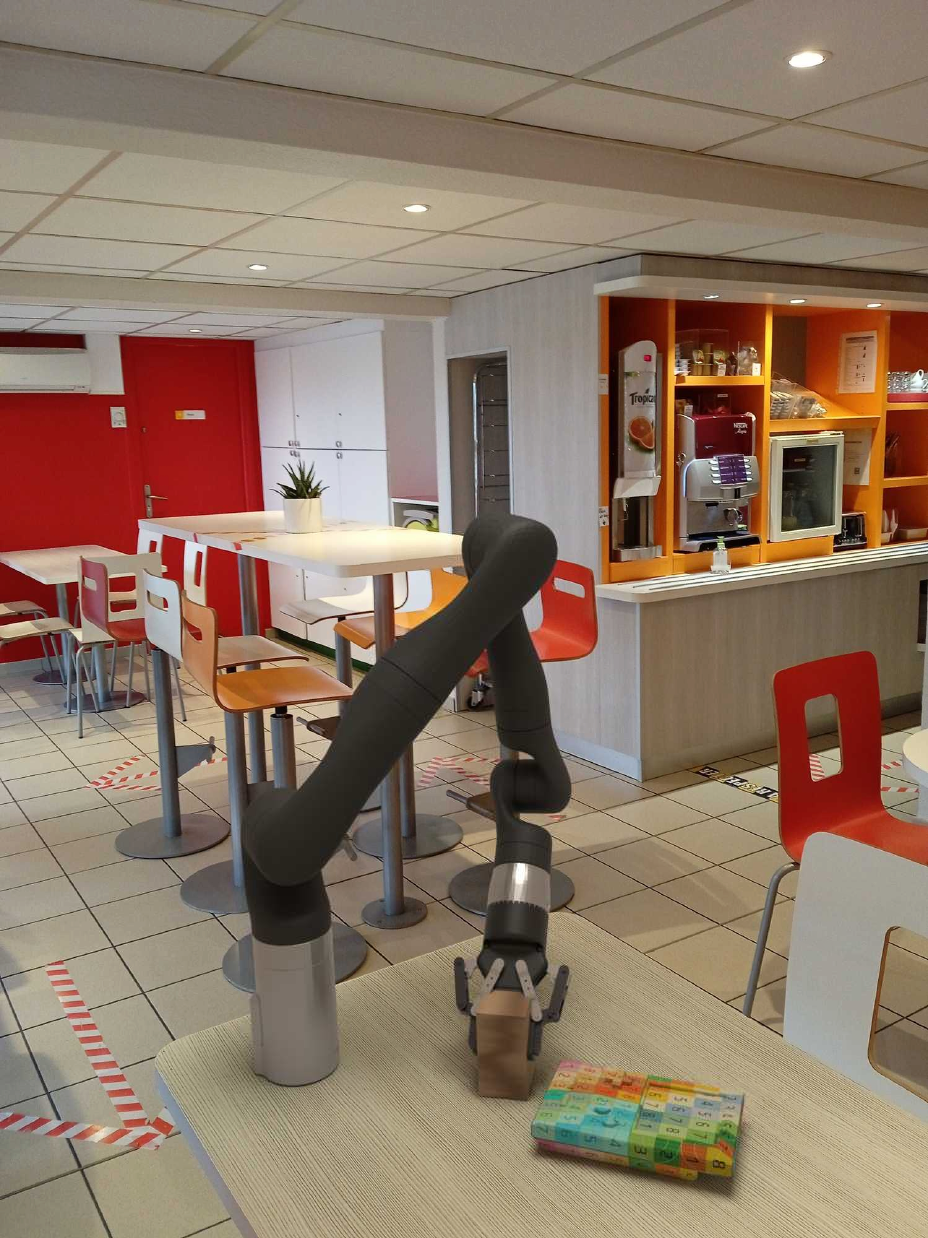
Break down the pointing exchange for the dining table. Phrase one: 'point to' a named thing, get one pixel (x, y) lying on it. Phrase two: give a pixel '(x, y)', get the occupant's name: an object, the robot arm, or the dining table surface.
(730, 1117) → the puzzle game
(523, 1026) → the walnut block
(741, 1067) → the dining table surface
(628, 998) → the dining table surface
